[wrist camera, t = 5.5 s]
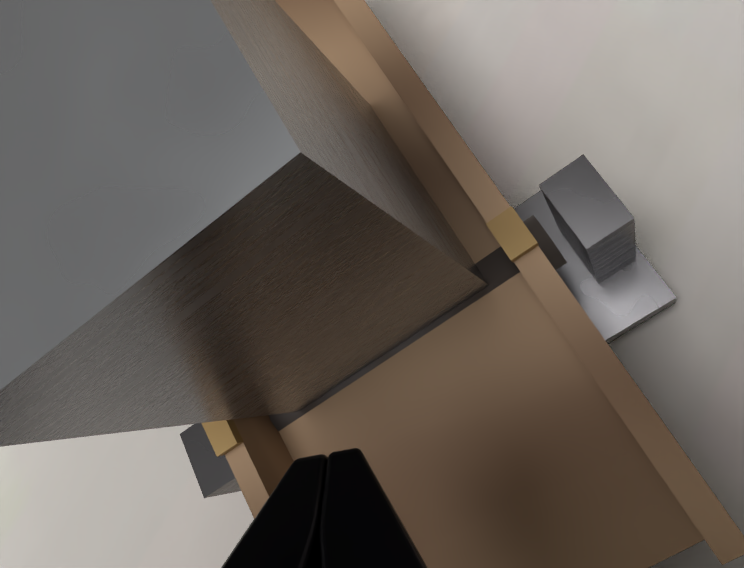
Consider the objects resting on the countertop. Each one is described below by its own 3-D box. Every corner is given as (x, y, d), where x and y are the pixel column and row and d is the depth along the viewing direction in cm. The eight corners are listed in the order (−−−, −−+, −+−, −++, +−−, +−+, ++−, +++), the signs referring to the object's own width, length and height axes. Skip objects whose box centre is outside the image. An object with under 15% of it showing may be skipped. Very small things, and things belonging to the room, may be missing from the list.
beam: (738, 502, 11) (777, 544, 9) (392, 678, 13) (339, 756, 11) (306, -98, 17) (249, -185, 14) (101, 89, 18) (16, 44, 16)
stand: (674, 302, 15) (686, 263, 11) (312, 521, 17) (216, 553, 13) (577, 178, 16) (557, 104, 12) (257, 397, 19) (157, 393, 15)
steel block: (488, 284, 12) (300, 151, 5) (298, 411, 13) (-84, 456, 6) (369, 104, 14) (91, -201, 7) (207, 231, 15) (-182, 95, 8)
